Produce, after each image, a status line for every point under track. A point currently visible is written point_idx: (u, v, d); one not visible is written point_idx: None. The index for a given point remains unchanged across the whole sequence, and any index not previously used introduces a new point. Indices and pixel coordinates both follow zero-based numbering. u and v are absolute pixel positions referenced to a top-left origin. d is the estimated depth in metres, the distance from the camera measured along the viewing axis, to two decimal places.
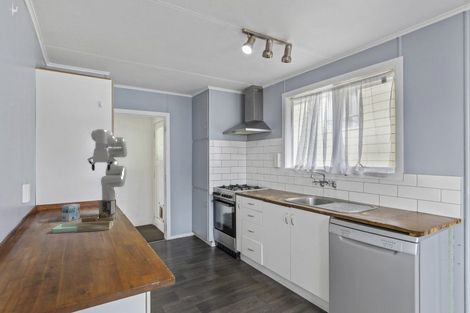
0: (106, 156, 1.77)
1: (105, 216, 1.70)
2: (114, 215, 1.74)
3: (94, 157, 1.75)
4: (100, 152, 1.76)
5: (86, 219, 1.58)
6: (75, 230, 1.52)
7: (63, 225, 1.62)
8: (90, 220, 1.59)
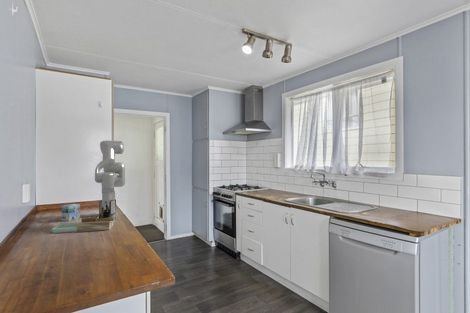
0: None
1: None
2: (114, 215, 1.74)
3: (109, 202, 1.70)
4: (111, 196, 1.74)
5: (86, 219, 1.58)
6: (75, 230, 1.52)
7: (63, 225, 1.62)
8: (90, 220, 1.59)
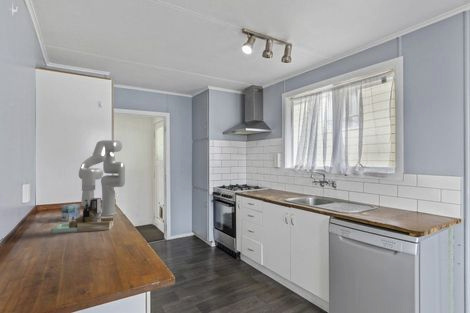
0: None
1: (90, 216, 1.58)
2: (100, 214, 1.62)
3: (90, 201, 1.57)
4: (92, 194, 1.61)
5: (70, 224, 1.57)
6: (75, 230, 1.52)
7: (63, 225, 1.62)
8: (77, 221, 1.57)
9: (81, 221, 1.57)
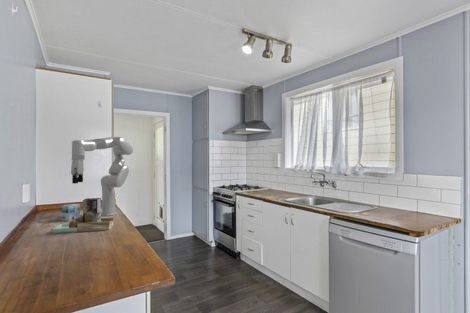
0: (83, 168, 1.77)
1: (90, 216, 1.58)
2: (100, 214, 1.62)
3: (79, 169, 1.69)
4: (81, 164, 1.73)
5: (70, 224, 1.57)
6: (75, 230, 1.52)
7: (63, 225, 1.62)
8: (77, 221, 1.57)
9: (81, 221, 1.57)
